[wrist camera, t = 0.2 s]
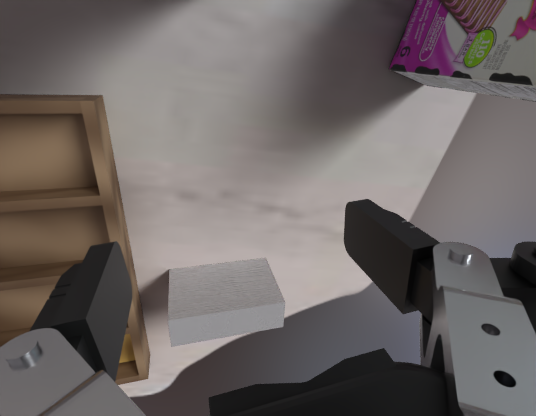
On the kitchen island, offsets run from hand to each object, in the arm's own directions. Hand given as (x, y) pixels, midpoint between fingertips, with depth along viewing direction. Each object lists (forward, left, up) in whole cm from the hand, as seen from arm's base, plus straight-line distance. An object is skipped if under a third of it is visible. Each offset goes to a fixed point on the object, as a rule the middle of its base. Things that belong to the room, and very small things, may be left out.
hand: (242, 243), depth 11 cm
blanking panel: (+15, +1, -18) cm, 23 cm away
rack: (+11, -14, -18) cm, 25 cm away
